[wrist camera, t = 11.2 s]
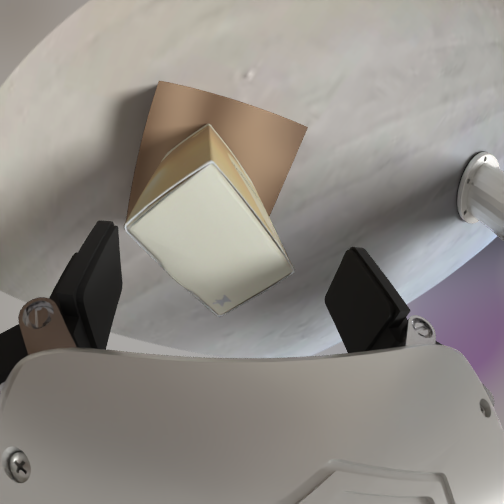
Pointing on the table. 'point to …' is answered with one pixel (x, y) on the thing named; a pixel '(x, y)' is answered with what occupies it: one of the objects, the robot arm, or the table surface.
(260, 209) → the skincare box
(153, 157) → the walnut block
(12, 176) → the table surface
